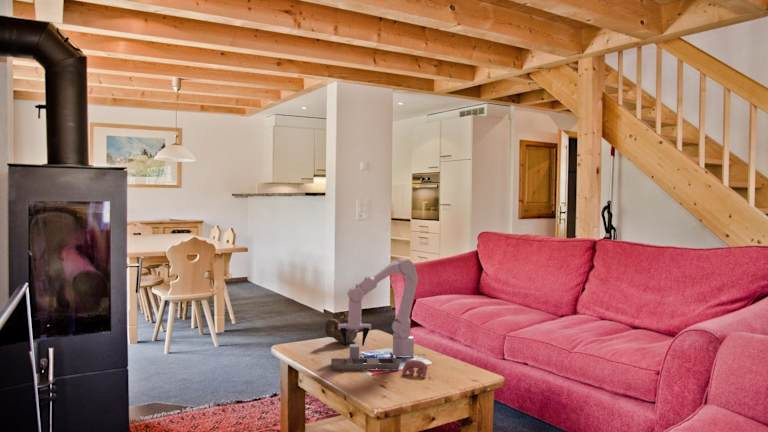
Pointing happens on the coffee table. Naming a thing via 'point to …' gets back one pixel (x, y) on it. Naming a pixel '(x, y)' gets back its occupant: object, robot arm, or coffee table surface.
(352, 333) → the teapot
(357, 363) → the rail
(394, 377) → the coffee table surface
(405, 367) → the video game controller
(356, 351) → the peg
